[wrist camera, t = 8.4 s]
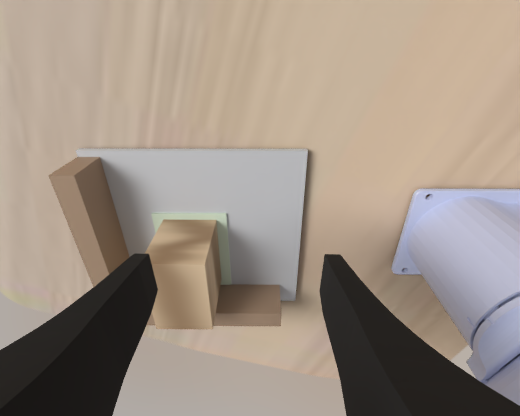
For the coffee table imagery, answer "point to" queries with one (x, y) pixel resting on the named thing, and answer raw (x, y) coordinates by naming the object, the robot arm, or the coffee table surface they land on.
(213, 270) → the oak block
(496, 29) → the coffee table surface
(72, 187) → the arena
